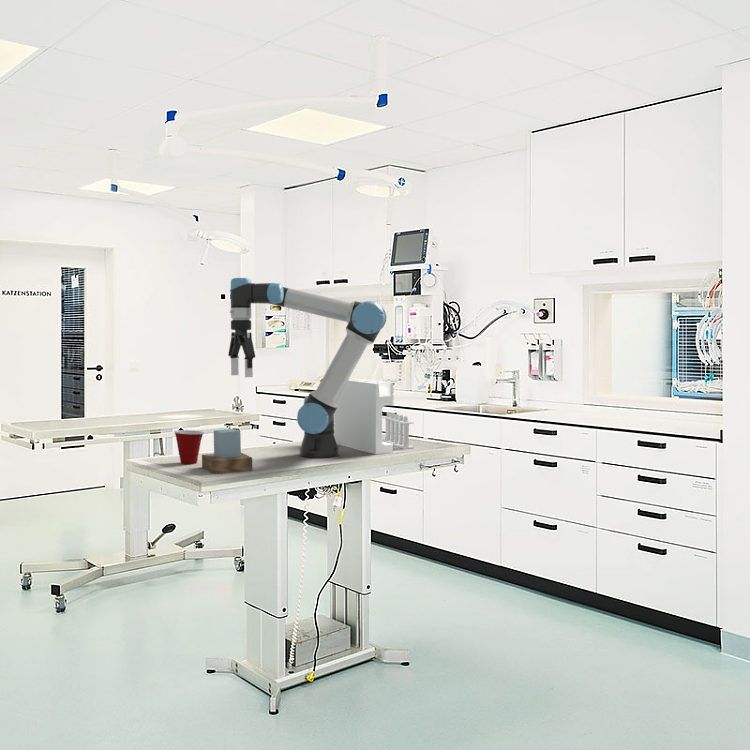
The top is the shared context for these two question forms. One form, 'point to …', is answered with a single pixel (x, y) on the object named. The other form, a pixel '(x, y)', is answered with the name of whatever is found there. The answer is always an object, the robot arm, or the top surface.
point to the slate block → (227, 443)
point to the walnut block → (226, 464)
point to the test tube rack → (397, 430)
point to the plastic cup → (188, 445)
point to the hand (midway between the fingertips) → (241, 376)
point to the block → (362, 415)
